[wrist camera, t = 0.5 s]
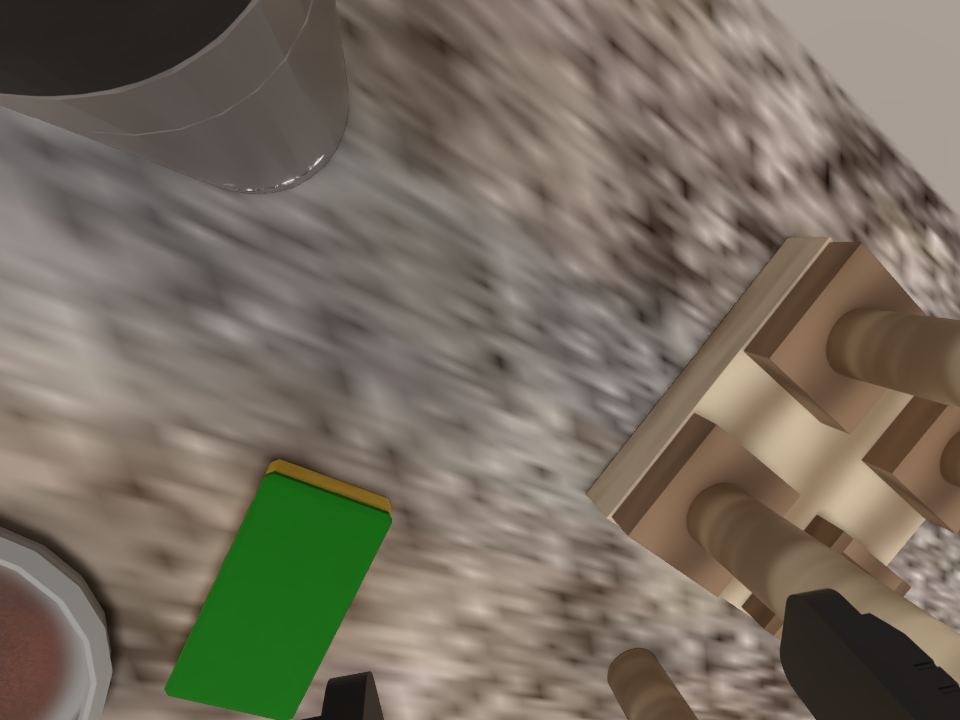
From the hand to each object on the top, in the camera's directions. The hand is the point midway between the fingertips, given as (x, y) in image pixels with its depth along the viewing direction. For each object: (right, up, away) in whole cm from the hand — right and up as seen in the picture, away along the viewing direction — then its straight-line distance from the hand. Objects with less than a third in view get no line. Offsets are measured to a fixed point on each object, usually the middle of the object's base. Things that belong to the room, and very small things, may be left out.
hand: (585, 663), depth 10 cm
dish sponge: (-13, -7, +21) cm, 25 cm away
